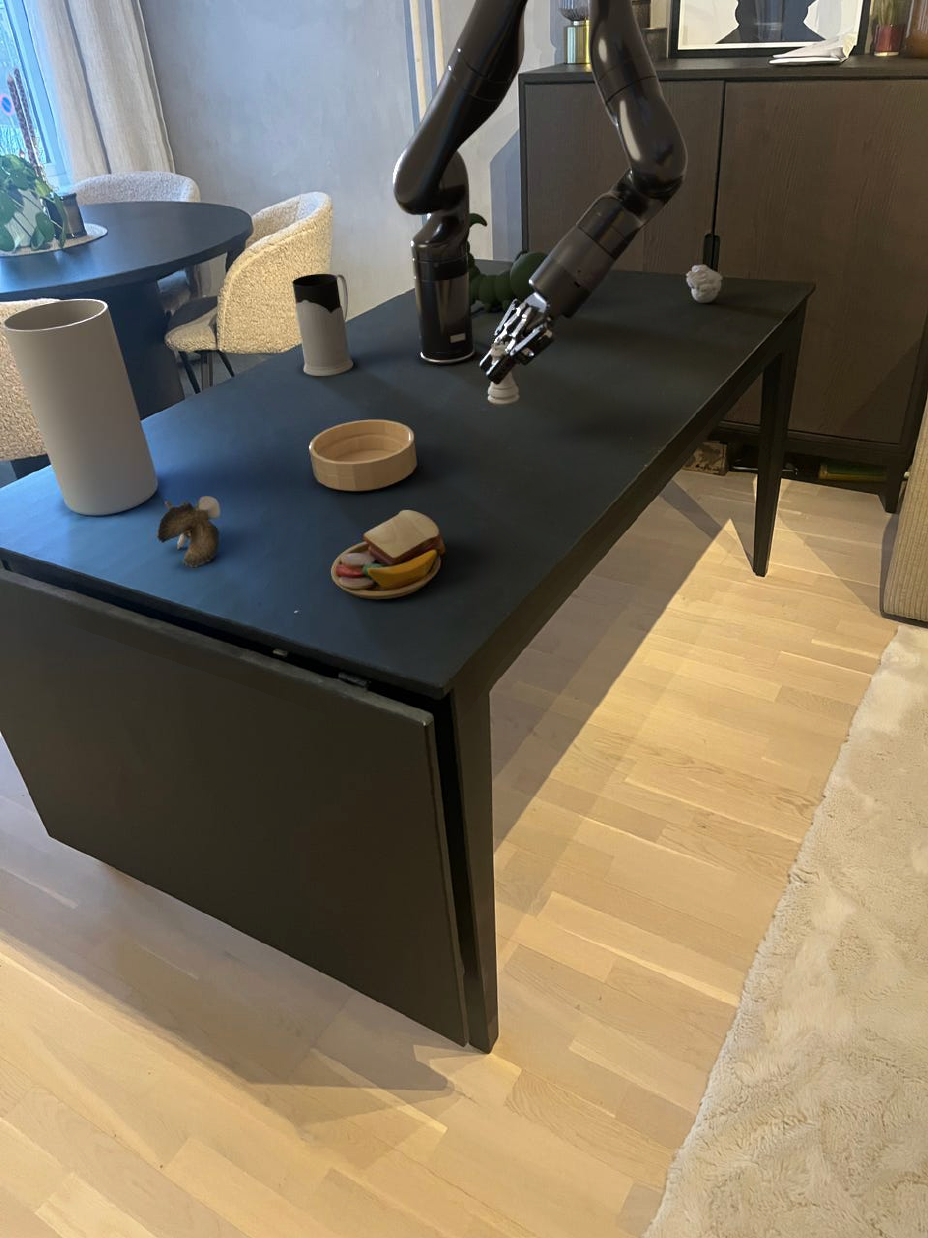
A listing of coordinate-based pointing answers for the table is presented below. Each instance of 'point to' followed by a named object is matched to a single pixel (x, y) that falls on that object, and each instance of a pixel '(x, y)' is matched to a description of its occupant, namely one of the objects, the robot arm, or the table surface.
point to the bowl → (363, 455)
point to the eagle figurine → (192, 529)
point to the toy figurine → (501, 278)
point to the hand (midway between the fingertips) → (488, 375)
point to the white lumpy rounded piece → (704, 283)
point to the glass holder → (322, 324)
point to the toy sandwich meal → (391, 558)
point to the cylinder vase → (83, 404)
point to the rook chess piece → (507, 388)
